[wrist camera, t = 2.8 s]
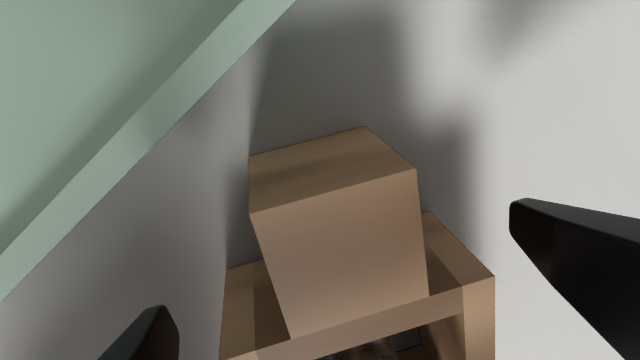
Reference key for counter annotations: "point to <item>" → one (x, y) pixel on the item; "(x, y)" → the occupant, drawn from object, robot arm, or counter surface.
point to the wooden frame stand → (351, 260)
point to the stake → (369, 351)
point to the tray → (98, 100)
